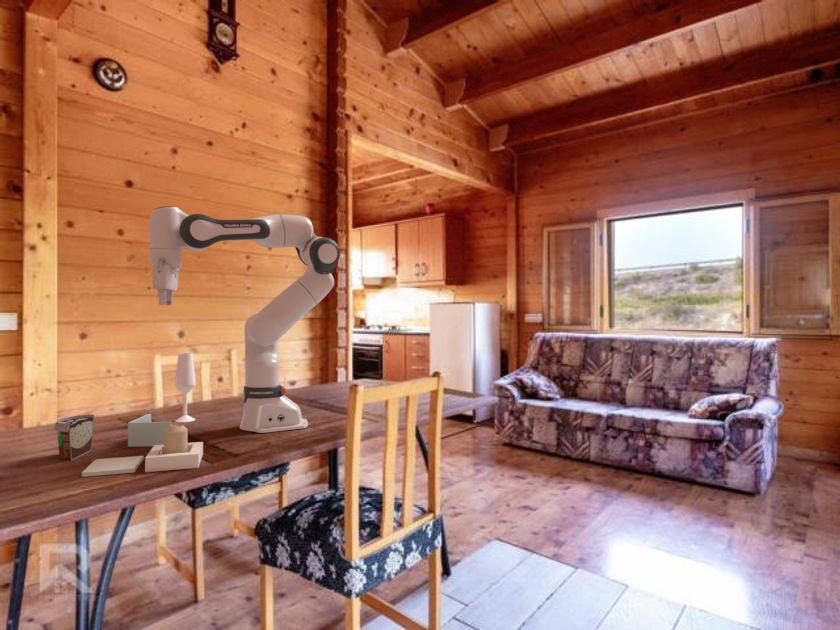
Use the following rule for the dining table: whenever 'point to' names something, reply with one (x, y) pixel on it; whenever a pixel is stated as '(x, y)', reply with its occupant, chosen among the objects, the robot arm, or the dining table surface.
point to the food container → (74, 436)
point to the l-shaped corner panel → (146, 432)
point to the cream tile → (113, 466)
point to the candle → (175, 439)
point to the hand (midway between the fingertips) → (165, 305)
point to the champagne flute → (185, 381)
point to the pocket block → (174, 458)
